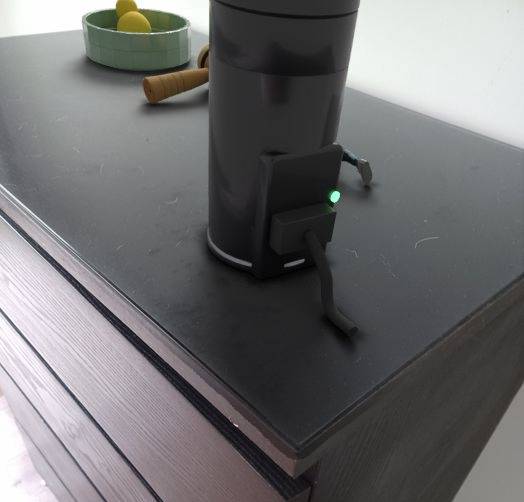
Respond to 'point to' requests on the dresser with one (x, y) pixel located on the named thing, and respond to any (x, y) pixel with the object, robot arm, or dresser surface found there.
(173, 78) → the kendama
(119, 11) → the yellow lemon
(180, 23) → the bowl
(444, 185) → the dresser surface
